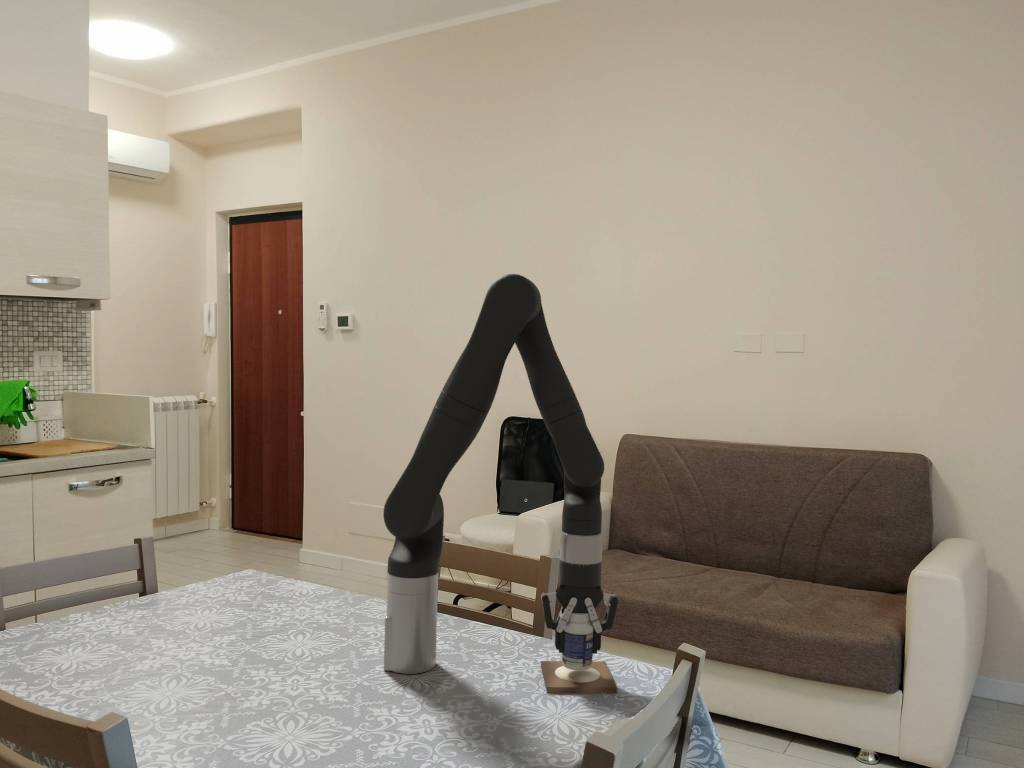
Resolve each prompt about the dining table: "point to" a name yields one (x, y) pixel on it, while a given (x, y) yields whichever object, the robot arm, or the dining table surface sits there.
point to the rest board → (577, 678)
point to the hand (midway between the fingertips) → (577, 651)
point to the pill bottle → (578, 642)
